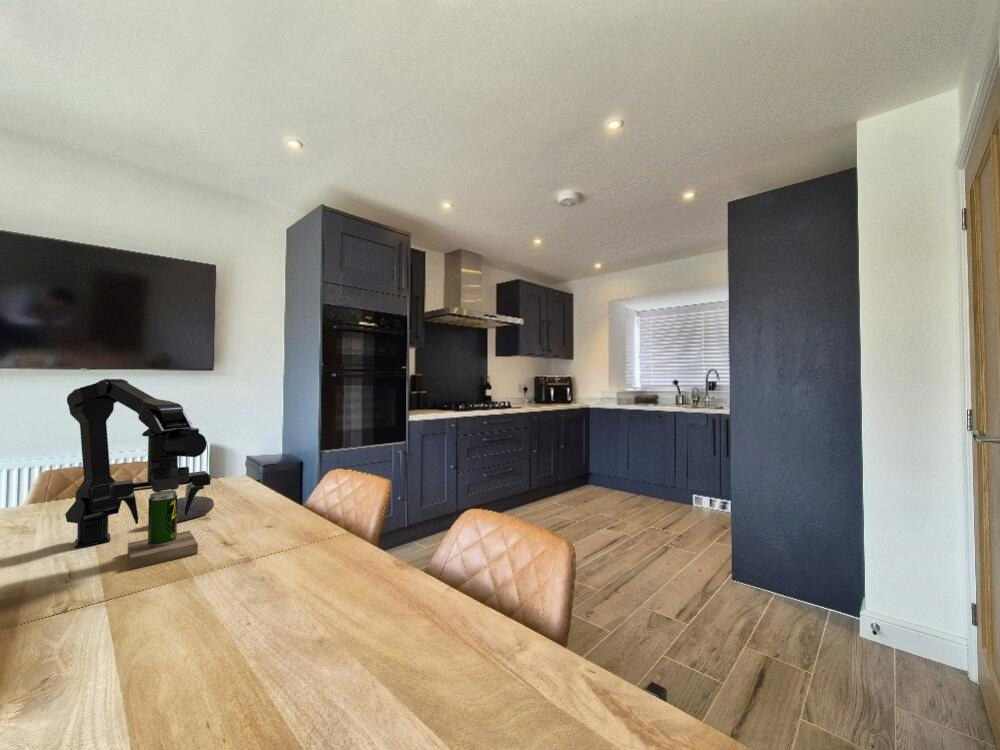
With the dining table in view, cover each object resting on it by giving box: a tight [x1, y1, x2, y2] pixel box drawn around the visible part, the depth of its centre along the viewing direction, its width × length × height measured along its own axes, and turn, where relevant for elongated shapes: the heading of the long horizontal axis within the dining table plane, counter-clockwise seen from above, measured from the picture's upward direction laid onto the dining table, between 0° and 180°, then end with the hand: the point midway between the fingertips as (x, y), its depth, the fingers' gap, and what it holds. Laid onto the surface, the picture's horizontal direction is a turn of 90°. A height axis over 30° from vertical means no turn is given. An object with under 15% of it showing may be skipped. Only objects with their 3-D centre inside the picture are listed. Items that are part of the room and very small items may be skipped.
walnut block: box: [127, 530, 199, 570], centre depth 100 cm, size 12×12×2 cm
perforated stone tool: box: [177, 495, 215, 523], centre depth 125 cm, size 15×5×7 cm, turn 147°
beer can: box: [147, 490, 178, 547], centre depth 100 cm, size 5×5×12 cm
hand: (161, 519), depth 101 cm, fingers open, 9 cm apart
